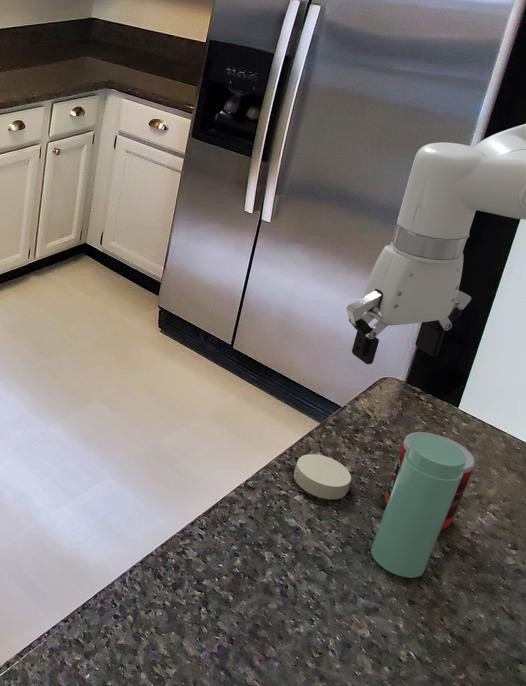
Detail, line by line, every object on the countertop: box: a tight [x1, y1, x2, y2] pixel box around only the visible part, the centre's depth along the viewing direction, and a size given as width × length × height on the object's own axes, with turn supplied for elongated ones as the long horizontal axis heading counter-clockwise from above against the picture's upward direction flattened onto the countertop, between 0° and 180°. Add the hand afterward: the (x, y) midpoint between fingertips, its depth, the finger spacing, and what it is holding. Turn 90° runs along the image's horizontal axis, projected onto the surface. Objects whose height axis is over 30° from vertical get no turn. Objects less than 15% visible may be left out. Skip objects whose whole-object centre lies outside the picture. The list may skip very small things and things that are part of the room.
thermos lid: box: [293, 453, 352, 500], centre depth 116 cm, size 7×7×2 cm
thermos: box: [370, 436, 466, 579], centre depth 100 cm, size 6×6×18 cm
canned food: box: [384, 431, 476, 531], centre depth 109 cm, size 8×8×11 cm
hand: (393, 354), depth 108 cm, fingers open, 9 cm apart
